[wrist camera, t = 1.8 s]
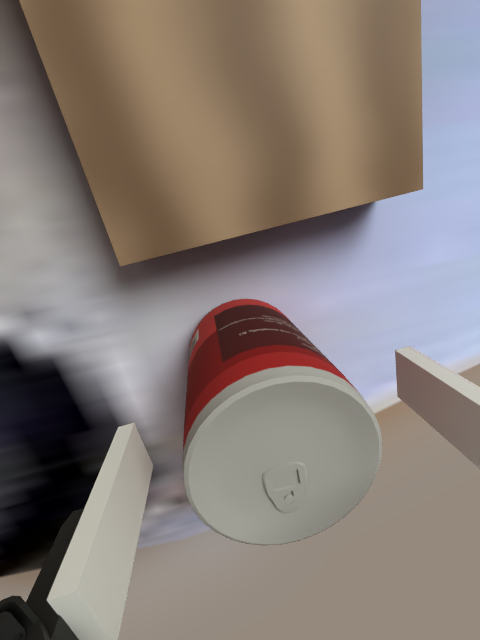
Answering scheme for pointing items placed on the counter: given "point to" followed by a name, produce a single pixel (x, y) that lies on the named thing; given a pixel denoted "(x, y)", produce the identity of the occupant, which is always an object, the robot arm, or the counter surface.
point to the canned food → (271, 429)
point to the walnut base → (233, 110)
